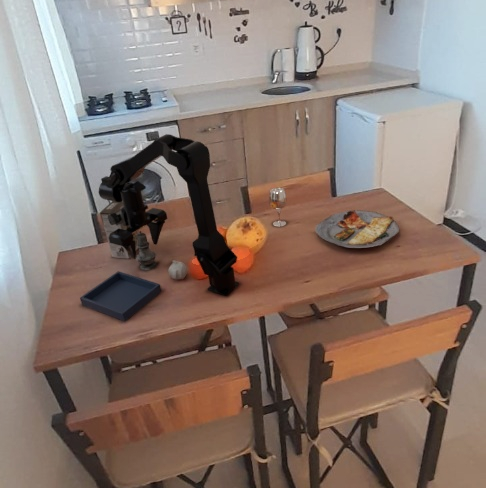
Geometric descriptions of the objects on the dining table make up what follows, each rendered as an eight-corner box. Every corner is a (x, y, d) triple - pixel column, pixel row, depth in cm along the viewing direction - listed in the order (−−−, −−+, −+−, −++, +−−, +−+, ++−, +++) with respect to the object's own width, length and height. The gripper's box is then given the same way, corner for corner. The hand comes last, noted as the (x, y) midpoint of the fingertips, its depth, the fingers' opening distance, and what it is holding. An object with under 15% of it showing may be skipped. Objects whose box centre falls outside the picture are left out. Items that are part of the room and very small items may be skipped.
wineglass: (269, 221, 160) (267, 188, 154) (286, 218, 160) (284, 186, 154) (272, 228, 155) (269, 195, 149) (289, 226, 155) (287, 192, 149)
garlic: (167, 274, 137) (164, 259, 134) (185, 269, 138) (182, 254, 136) (172, 284, 132) (169, 269, 129) (191, 279, 133) (188, 264, 131)
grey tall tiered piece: (153, 271, 139) (145, 235, 133) (135, 270, 141) (126, 235, 135) (160, 260, 144) (153, 226, 138) (143, 260, 146) (134, 226, 140)
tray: (161, 291, 130) (160, 284, 128) (124, 321, 120) (122, 313, 118) (120, 278, 138) (118, 271, 137) (82, 305, 128) (79, 297, 127)
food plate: (347, 210, 161) (347, 200, 159) (411, 227, 146) (412, 217, 144) (302, 239, 146) (302, 229, 145) (368, 262, 132) (368, 251, 130)
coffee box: (125, 243, 156) (113, 199, 148) (142, 244, 155) (131, 199, 147) (111, 257, 149) (98, 212, 141) (129, 258, 147) (117, 212, 139)
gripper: (136, 187, 143) (146, 232, 150) (89, 213, 130) (103, 261, 137) (163, 192, 137) (172, 239, 145) (117, 219, 124) (130, 269, 132)
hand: (145, 251), depth 140 cm, fingers open, 9 cm apart
